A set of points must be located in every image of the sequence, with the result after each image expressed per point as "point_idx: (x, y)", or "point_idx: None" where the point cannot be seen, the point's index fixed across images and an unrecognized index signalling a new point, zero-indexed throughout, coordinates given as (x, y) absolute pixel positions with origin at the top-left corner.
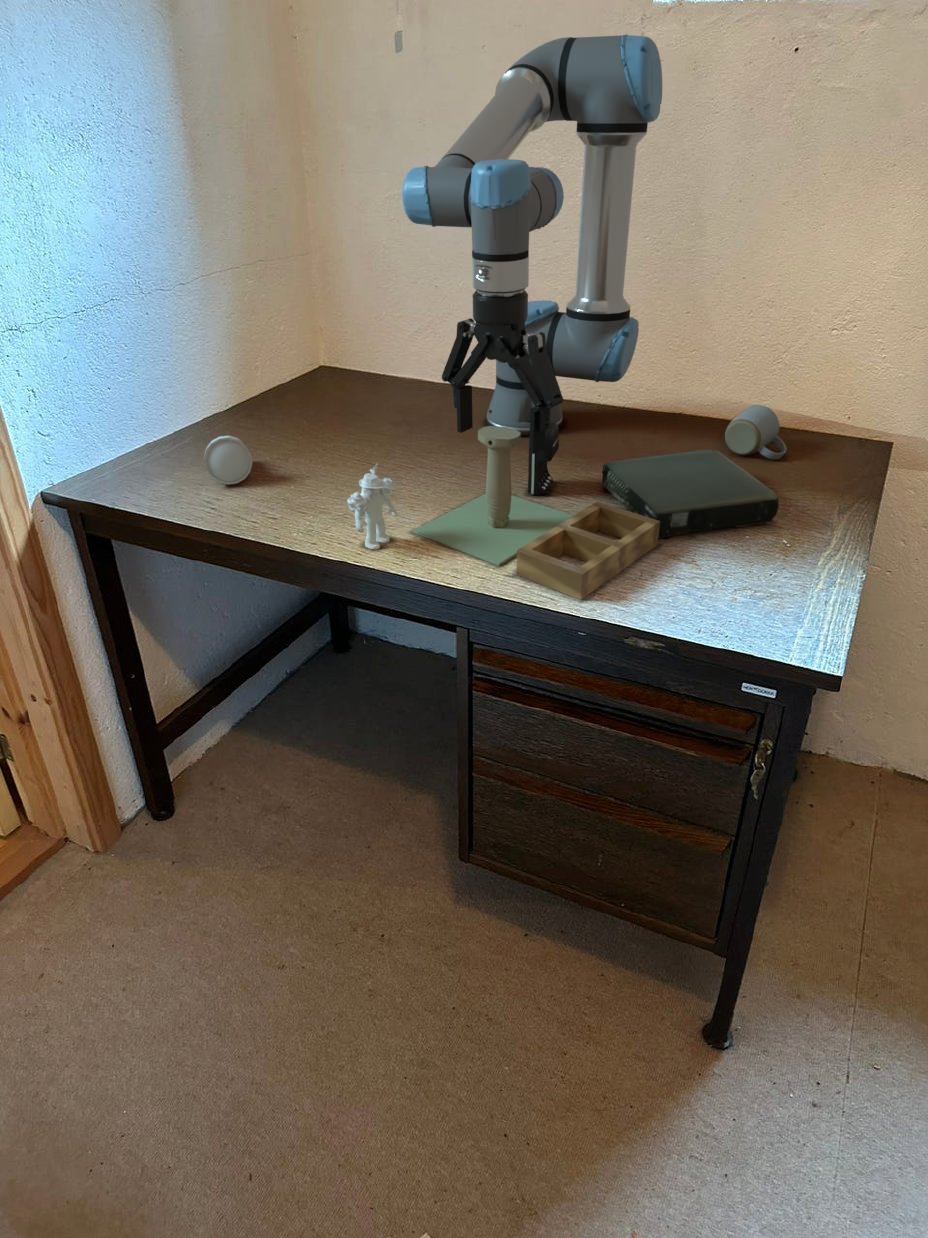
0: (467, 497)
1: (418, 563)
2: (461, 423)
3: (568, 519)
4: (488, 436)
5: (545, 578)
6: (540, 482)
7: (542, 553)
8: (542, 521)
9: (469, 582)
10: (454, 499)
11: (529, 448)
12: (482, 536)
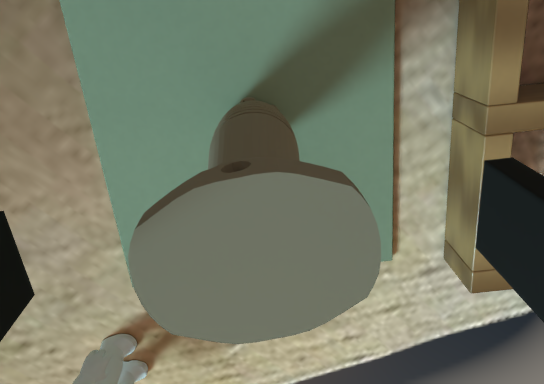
0: (36, 43)
1: (255, 351)
2: (9, 324)
3: (493, 74)
4: (256, 334)
5: None
6: None
7: None
8: (334, 18)
9: (385, 332)
10: (25, 83)
11: (486, 259)
12: None
